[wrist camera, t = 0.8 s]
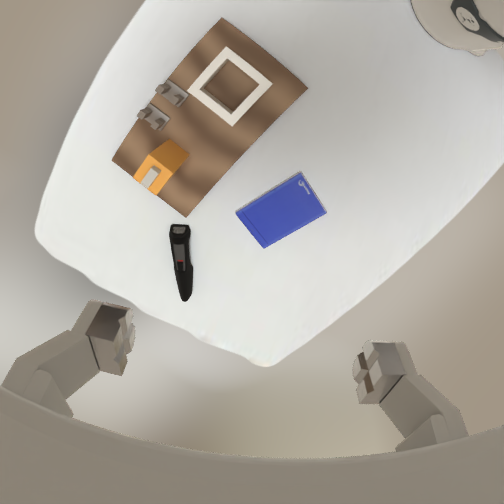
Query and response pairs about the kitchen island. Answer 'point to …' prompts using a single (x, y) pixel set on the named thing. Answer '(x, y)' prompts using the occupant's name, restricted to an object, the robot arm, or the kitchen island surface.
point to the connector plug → (160, 166)
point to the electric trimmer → (181, 259)
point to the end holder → (213, 102)
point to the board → (208, 115)
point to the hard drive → (281, 210)
